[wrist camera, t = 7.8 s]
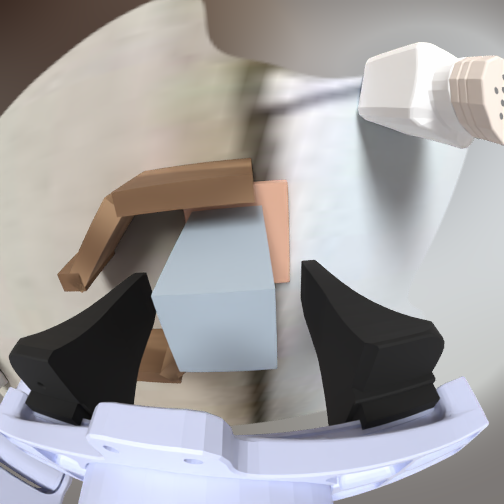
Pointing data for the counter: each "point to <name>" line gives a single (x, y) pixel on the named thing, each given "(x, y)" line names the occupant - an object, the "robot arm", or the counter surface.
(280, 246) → the coaster
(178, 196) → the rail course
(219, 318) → the slate block
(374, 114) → the pepper shaker
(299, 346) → the counter surface
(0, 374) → the flask
